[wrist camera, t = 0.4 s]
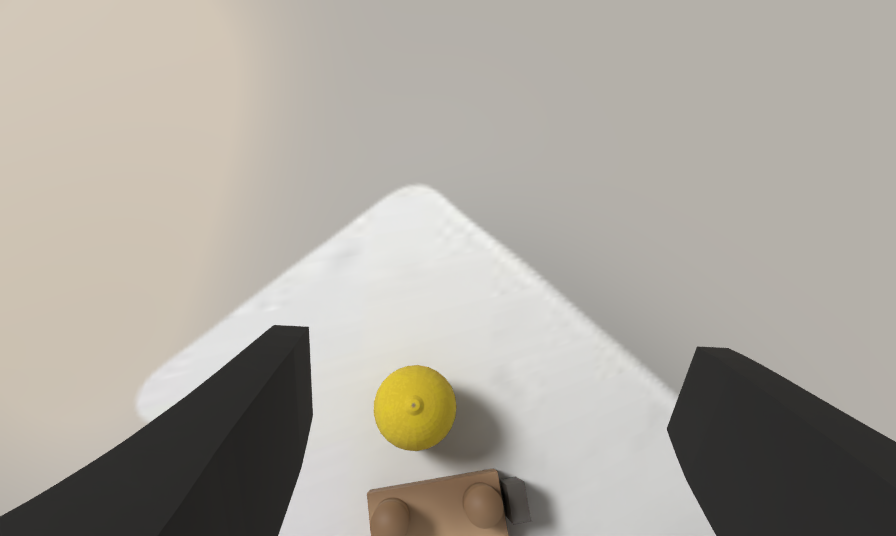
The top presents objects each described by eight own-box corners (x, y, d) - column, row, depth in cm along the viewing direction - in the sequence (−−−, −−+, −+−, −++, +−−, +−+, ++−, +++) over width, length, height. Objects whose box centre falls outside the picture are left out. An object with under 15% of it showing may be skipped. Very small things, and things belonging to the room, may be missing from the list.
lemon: (388, 365, 38) (378, 350, 30) (458, 379, 38) (467, 367, 30) (371, 440, 36) (357, 444, 28) (445, 454, 36) (451, 463, 28)
